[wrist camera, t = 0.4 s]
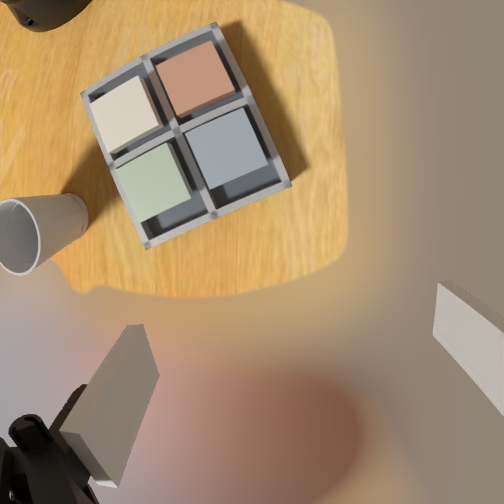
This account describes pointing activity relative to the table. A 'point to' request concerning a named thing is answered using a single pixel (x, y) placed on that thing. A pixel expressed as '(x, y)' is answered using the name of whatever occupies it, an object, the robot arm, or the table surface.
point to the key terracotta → (195, 79)
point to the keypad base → (205, 200)
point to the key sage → (154, 182)
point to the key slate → (226, 148)
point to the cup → (38, 229)
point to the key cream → (126, 115)
